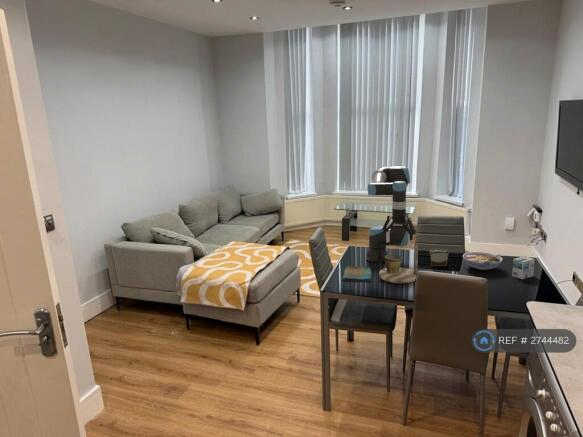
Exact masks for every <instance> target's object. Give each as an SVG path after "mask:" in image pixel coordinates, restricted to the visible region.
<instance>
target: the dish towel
mask: <svg viewBox="0 0 583 437" xmlns="http://www.w3.org/2000/svg"><path fill="white" fill-rule="evenodd" d="M342 281H344V282H366V283H370V282H372V267H371V266H345V268H344V272H343V276H342Z"/></svg>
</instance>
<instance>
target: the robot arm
mask: <svg viewBox="0 0 583 437" xmlns="http://www.w3.org/2000/svg"><path fill="white" fill-rule="evenodd" d="M371 181H372V182H370V183H368V184H367V195H368V196H392V199H391V201H392V202H391V203H392V204H391V207H392V208H391V214H389V215H387V216H386V220H385V222H384V224H383V225H375V226H372V227H371V228H369V229H368V249H367V253H366V259H367V260H368V262H369V261H371V262H370V263H373V262H375V264H381V263H382V262H384V263H385V256H386V255H389V253H388V251H387V246H388V247H389V246H391V247H392V246H394V247H395V246H396V247H406V246H407V247H410V246H412V241H413V238H414V236H413V235H415V234H417V230H416V229H415V227H414V224H413V222H412V217H410V216H409V217H406V216H407V215H406V214H407V213H406V212H407V209H406V207H407V202H406V201H407V188H408V185H409V184H410V183H411V178H410V170H409V168H408V167H407V166H401V165H400V166H383V167H380V168H378V169H376V170H374V172H373V173H372V175H371ZM390 221H391V223H390ZM367 260H366V261H367Z"/></svg>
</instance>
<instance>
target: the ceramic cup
mask: <svg viewBox="0 0 583 437" xmlns="http://www.w3.org/2000/svg"><path fill="white" fill-rule="evenodd" d="M402 260H403V256H402V255H399V254H388V255H386V256H385V262H384V263H385V268H387V273H388V274H390V275H396V274H398V273H399V269H400V267H401V264H402Z"/></svg>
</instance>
